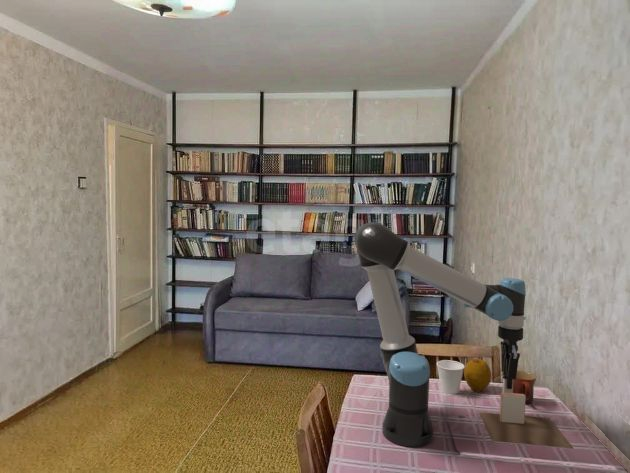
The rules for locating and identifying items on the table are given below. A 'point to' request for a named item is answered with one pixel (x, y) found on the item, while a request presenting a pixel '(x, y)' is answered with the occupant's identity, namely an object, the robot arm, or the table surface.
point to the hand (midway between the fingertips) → (507, 396)
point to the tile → (512, 408)
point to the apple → (477, 374)
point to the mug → (524, 385)
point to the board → (525, 431)
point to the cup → (450, 376)
